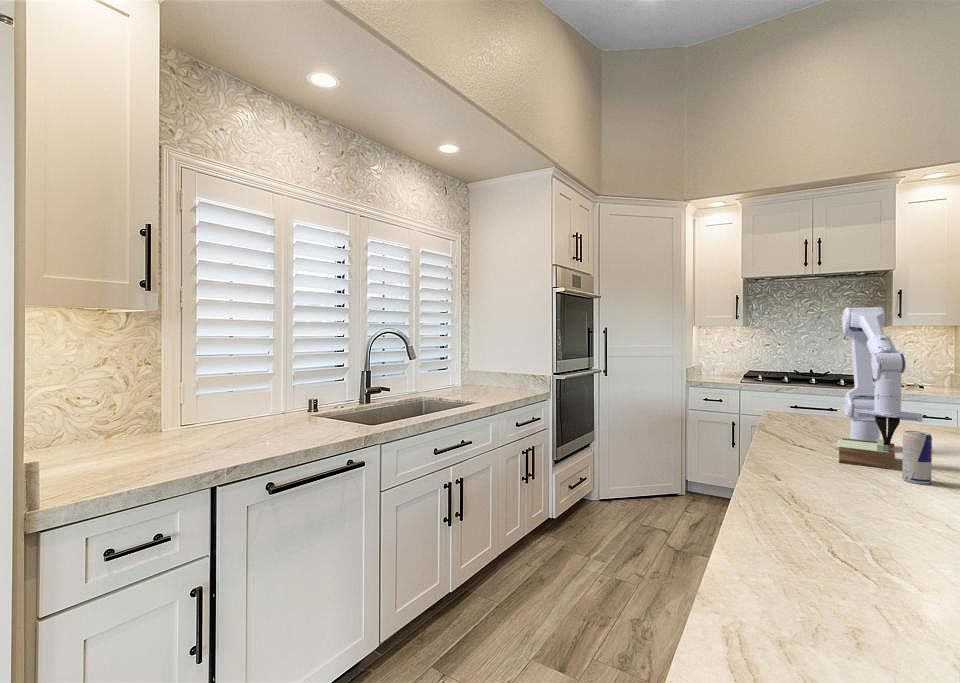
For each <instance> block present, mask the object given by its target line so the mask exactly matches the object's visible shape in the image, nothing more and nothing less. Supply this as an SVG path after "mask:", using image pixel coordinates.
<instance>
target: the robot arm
mask: <svg viewBox="0 0 960 683" xmlns="http://www.w3.org/2000/svg"><path fill="white" fill-rule="evenodd" d="M841 320H842V321H841V323H842V331H843V335H844V336H847V337H849V340H850V344H851V356H852V371H853V381H854V382H853V383H854V388H851V389H850V390H849V391H846V393H845V395H844V402H843V410H844V414H845V416H847V417H848V418H849V419H850V424H849V425H850V431H849V432H850V434H849V439H856V440H865V441H875V442H877V439H880V433H881V436H882V439H883V442H884V445H889V446H890V443H892V442H891V441H892V438H893V436H894V433H895V431H896V430H897V428H898V426H899V425H900V422H901V420H902V421H910V422H911V421H912V422H913V421H914V422H917V423H918V422H921V423H922V422H923V416H924V415H923V413H918V412H916V413H915V412H907V411H902V374H904V373H905V370H906V367H907V363H906V356H905V354H904V352H902V351H900V350H897V349H896V347H895V344H894V343H893V341H892V339H891V337H890V336H889V335H886V334H884V331H883V325H884V324H885V323H886V322H885V320H886V312H885V309H884V308H883V307H882V306H877V307H876V306H874V307H872V306H871V307H866V306H865V307H849V306H847V307H845V308H844V309H843V311H842V316H841Z"/></svg>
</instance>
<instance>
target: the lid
mask: <svg viewBox="0 0 960 683" xmlns="http://www.w3.org/2000/svg"><path fill="white" fill-rule="evenodd" d="M883 442H884V441H883V438H882V439H881V438H879V439H877V443H869V442H860V441H851V440H842V439H841V438H839V439H838V440H837V441H836V445H835V450H837V451H839V447H847V448H855V449H864V450H873V451H881V452H889V448H888V445H884V444H883Z"/></svg>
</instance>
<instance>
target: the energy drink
mask: <svg viewBox="0 0 960 683" xmlns="http://www.w3.org/2000/svg"><path fill="white" fill-rule="evenodd" d="M932 450H933V437H932V435H931V433H929V432H927V431H920V430H919V431H917V430H904V431H903V434H902V469H901V470H902V471H901V472H902V473H901V474H902V477H901V479H903V481H905V482H907V483H911V484H917V485H930V484H931V483H932V465H933V464H932V463H933V462H932V460H933V459H932V458H933V451H932Z"/></svg>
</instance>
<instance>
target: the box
mask: <svg viewBox="0 0 960 683" xmlns="http://www.w3.org/2000/svg"><path fill="white" fill-rule="evenodd" d="M841 440H851V441H860V442H869V443H877V442H875V441H865V440H856V439H850V438H845V437H843V438H842V439H841ZM883 444H884V441H883ZM888 448H889V452H881V451H873V450H864V449H855V448H847V447H839V450H838V463H840V464H847V465H852V466H853V465H855V466H863V467H868V468H869V467H870V468H876V469H883V470H884V469H885V470H892V471H895V470H896V452H895V443H892V442H890V446H889V445H888Z"/></svg>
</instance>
